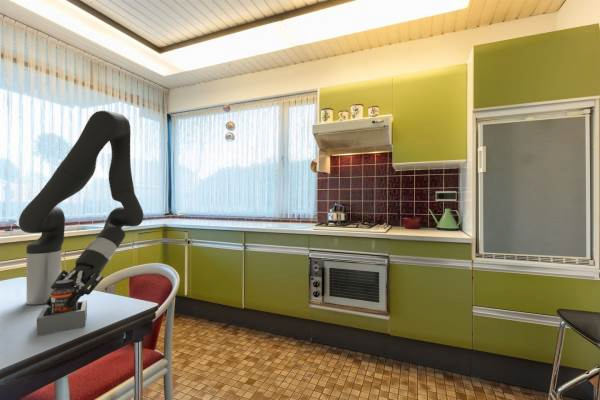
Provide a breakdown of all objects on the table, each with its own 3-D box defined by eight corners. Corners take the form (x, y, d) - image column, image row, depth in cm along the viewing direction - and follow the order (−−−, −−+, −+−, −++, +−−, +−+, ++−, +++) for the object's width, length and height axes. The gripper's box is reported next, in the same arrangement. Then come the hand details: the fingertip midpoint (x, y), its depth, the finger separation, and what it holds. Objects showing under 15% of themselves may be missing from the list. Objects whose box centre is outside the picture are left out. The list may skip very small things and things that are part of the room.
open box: (43, 322, 82) (43, 307, 82) (86, 314, 88) (86, 300, 88) (36, 336, 74) (36, 318, 74) (85, 326, 80) (85, 310, 80)
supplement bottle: (52, 327, 77) (51, 285, 77) (49, 321, 81) (48, 281, 81) (79, 320, 81) (79, 280, 81) (75, 315, 85) (75, 277, 85)
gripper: (70, 247, 90) (27, 298, 78) (108, 249, 87) (68, 302, 75) (87, 261, 95) (48, 310, 84) (123, 262, 92) (87, 314, 80)
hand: (58, 306), depth 79 cm, fingers closed on supplement bottle, 6 cm apart
